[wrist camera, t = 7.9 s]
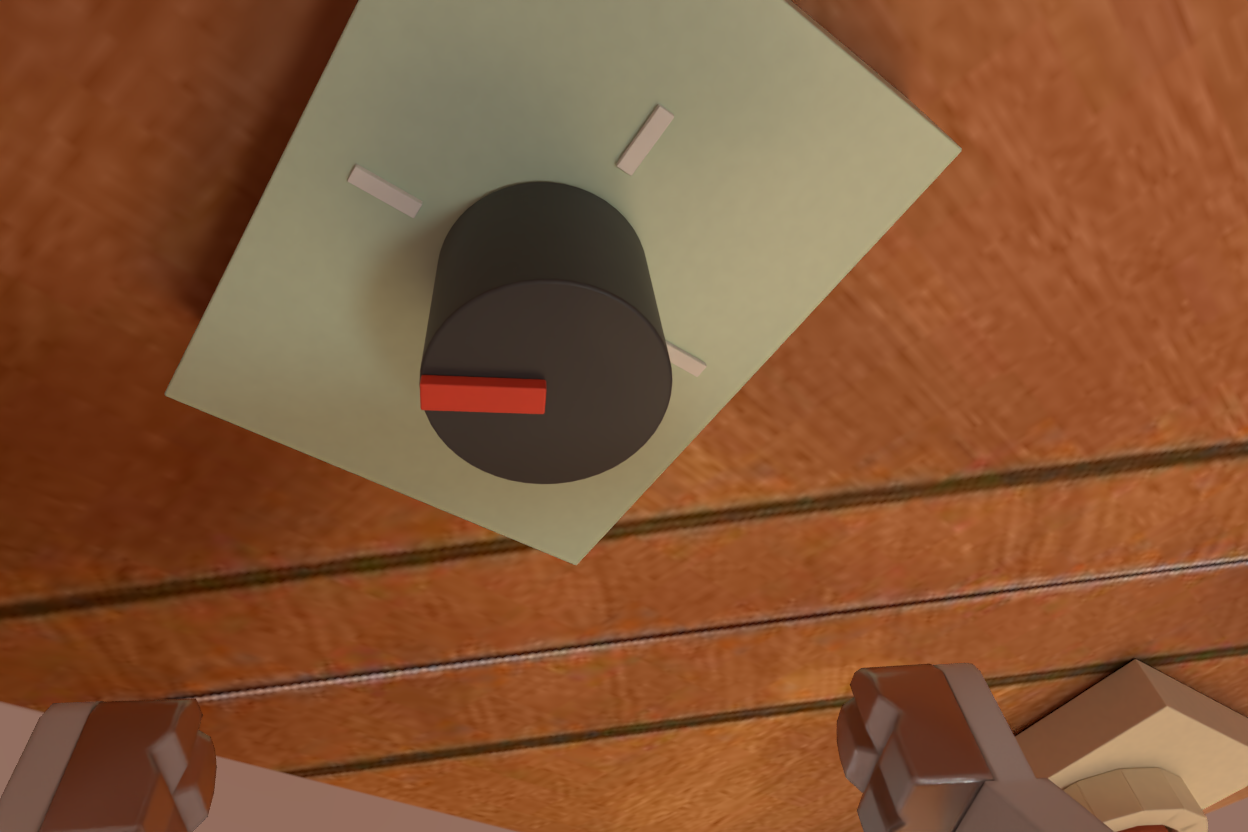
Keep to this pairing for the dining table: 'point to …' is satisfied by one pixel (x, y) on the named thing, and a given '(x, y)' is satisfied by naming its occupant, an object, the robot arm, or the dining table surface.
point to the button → (1146, 828)
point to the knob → (544, 337)
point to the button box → (1142, 750)
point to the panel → (560, 153)
